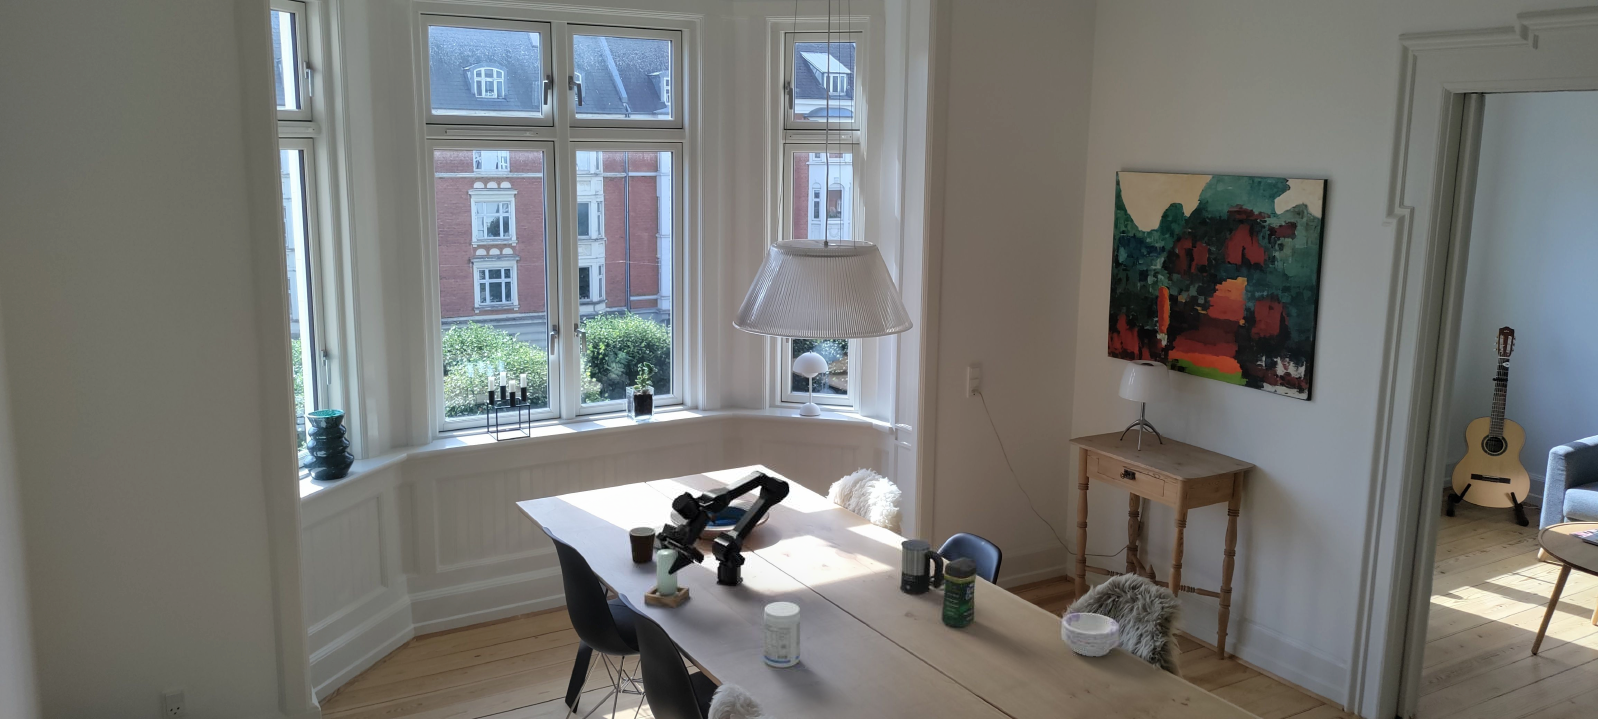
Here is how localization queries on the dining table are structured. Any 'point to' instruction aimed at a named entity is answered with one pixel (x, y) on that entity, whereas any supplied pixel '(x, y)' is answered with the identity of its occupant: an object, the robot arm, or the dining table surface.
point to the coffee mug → (642, 544)
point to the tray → (666, 597)
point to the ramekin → (656, 541)
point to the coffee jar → (959, 592)
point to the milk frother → (920, 567)
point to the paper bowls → (1090, 633)
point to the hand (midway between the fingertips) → (663, 570)
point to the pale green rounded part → (666, 572)
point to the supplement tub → (781, 634)
